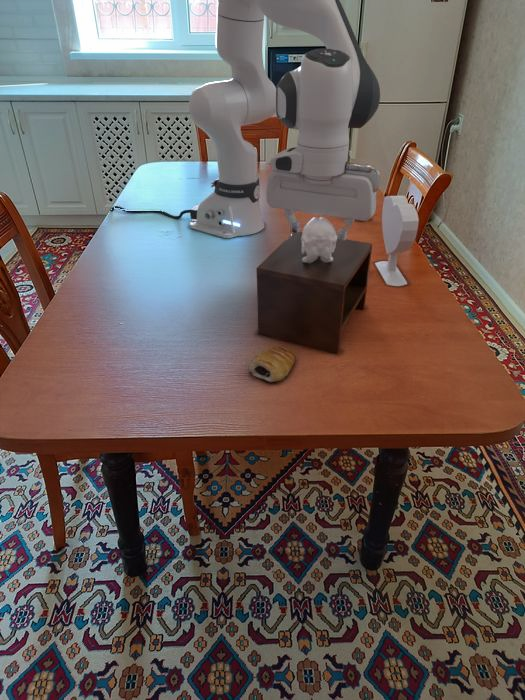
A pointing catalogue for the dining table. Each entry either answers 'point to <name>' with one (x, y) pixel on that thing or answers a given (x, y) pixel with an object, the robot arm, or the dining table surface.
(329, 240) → the white figurine
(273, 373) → the pastry
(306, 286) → the shelf stand
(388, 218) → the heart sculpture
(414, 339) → the dining table surface
